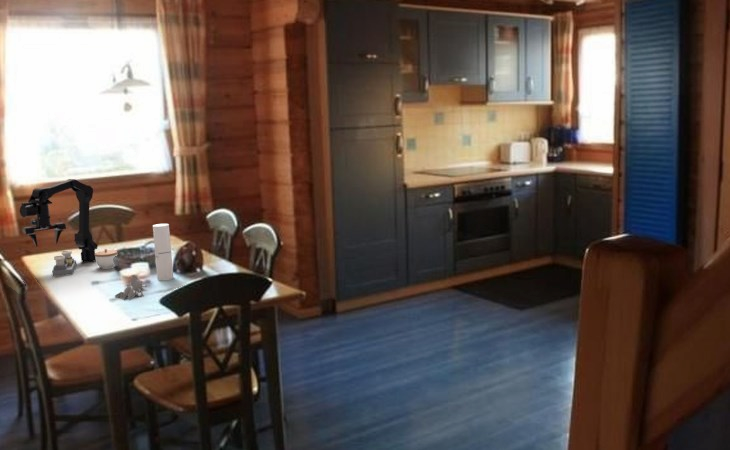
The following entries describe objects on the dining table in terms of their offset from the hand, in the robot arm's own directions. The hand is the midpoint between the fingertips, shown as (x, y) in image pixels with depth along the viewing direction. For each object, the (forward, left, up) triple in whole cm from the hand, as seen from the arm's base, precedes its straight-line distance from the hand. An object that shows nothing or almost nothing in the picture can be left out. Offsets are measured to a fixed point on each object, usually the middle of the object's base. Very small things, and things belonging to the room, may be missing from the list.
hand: (46, 245), depth 346 cm
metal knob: (-10, +3, -10) cm, 15 cm away
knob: (-6, +9, -10) cm, 15 cm away
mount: (-7, +2, -13) cm, 15 cm away
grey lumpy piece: (-40, +63, -14) cm, 75 cm away
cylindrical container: (-54, +41, -13) cm, 69 cm away
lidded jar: (-27, +5, -13) cm, 31 cm away
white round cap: (-8, -3, -10) cm, 13 cm away
